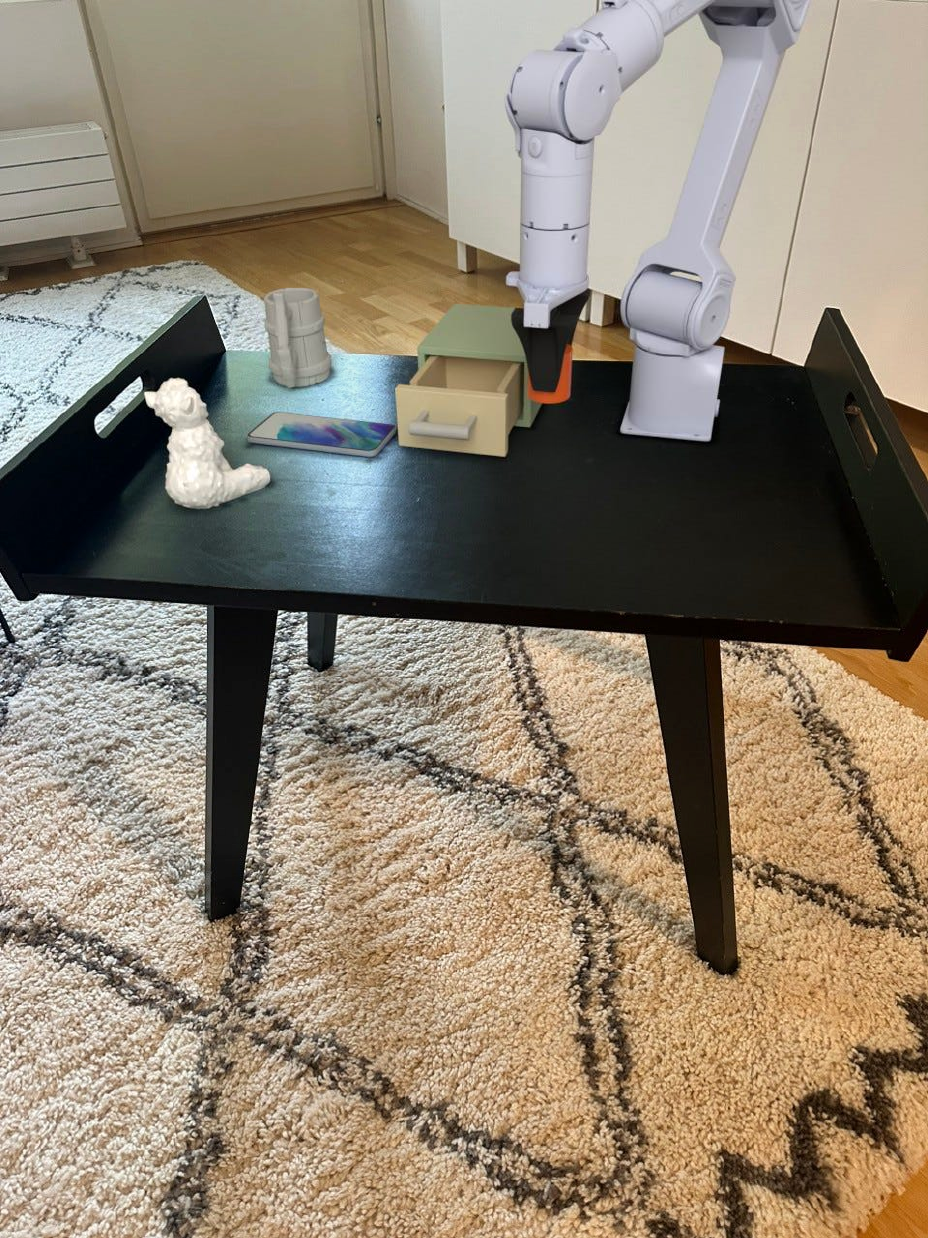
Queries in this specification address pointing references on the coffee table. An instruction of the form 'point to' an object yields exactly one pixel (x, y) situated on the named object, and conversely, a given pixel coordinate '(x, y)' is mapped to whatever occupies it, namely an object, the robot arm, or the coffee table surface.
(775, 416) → the coffee table surface
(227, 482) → the white creature statuette
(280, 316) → the mug
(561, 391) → the orange cylinder
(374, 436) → the smartphone
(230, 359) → the coffee table surface
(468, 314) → the cabinet
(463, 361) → the drawer
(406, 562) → the coffee table surface
